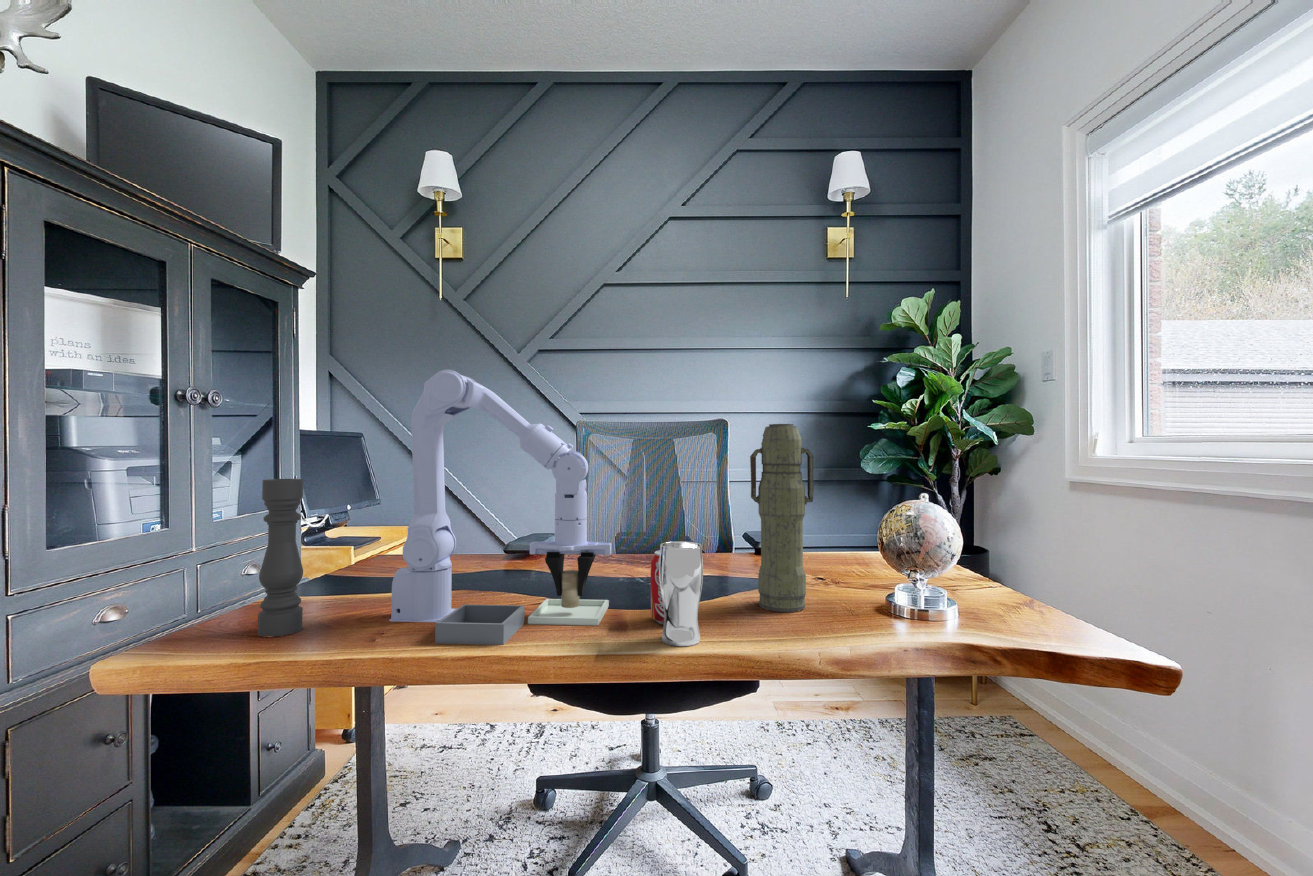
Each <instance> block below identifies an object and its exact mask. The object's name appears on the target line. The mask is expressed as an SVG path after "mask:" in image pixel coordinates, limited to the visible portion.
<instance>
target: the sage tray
mask: <svg viewBox="0 0 1313 876" xmlns="http://www.w3.org/2000/svg"><path fill="white" fill-rule="evenodd" d="M609 603H610V600H609V599H581V598H579V606H578V607H575V608H564V607H562V606H561V598H545V600H544V601H542V603H540V605H539V606H537V608H535V609H534V611H533V612H531V614H530V615H529V616H528V617H527V624H528V625H547V626H548V625H549V626H554V625H555V626H599V625H600V623H601V621H602V619H603V617H604V615H605V614H606V612H607V610H608V608H609V606H610V605H609Z"/></svg>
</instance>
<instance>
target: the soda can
mask: <svg viewBox="0 0 1313 876" xmlns="http://www.w3.org/2000/svg"><path fill="white" fill-rule="evenodd" d="M659 558H660V549H659V550H656V551H654V556H653V558H652V560H651V562H650V613H651V618H652V619H653V620H654V621H656V622H657V623H658V624H659V625H663V626H664V608H663V602H662V596H661V590H660V582H659Z"/></svg>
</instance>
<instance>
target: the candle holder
mask: <svg viewBox="0 0 1313 876" xmlns="http://www.w3.org/2000/svg"><path fill="white" fill-rule="evenodd" d="M261 492H262V494H261V496H262V497H261V500H263V501H264V503H263V504H264V507H266V510H267V511H268V513H267V514H266V515H264V516H263V521H264V522H265V523H266V524H267V526H268V527H267V528H268V531H267V533H268V535H267V547H266V549H265V553H264V558H263V560H262V564H261V567H260V571H259V573H258V580H259V583H260V585H261V586H262V587H263V588H264V589H265V591H264V593H265V594H266V596H264V598H263V600H262V601H261V602H260V605H259V607H260V609H262V610H261V611H259V612H258V614H257V636H258V635H259V636H258V637H260V636H280V637H284V636H283V635H286V636H288V635H287V634H290V635H293V634H292V633H294V632H296V633H299V632H301V631H303V619H304V618H303V614H304V613H303V609H304V608H303V606H301V603H302V598H301V597H300V596H299V595H298V593H297V592H296V590H297V589H298V587H297V586H298V585H299V584H300V582H301V581H302V579H303V576H304V568H303V564H302V560H301V557H300V553H299V549H298V544H297V541H296V540H297V523H298V521H300V520H301V519H302V518H301V517H302V515H301V514H300V513H299V512H297V510H298V508H299V506H300V505H301V503H302V499H303V498H304V479H303V478H269V479H268V478H267V479H262V491H261ZM294 634H295V633H294Z"/></svg>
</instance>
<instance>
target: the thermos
mask: <svg viewBox="0 0 1313 876" xmlns="http://www.w3.org/2000/svg"><path fill="white" fill-rule="evenodd" d="M800 434H801V433H800V431H799V428H798V426H796V425H795V426H794V424H793V423H772V424H768V426H765V428H764V431H763V433H762V439H761V440H762V441H761V443H760V444H761V447H760V448H758V449H755V450H754V451H753V452H752V453H751V455H750V456H749V459H750V460H749V462H750V464H749V465H750V498H751V499H752V500H753V501H754V502H755V503H756V504H758V515H759V517H760V567H759V570H758V576H757V577H758V578H757V580H758V583H757V585H758V586H757V587H758V594H759V601H758V602H759V607H760V608H762V609H764V610H766V609H767V610H766V611H771V612H777V613H796V612H795V611H798V612H800V611H799V610H802V609H804V608H805V609H806V602H805V601H806V599H805V596H806V595H807V589H806V588H807V577H806V572H805V570H804V559H803V558H804V554H803V553H804V551H803V550H804V542H803V541H804V534H803V533H804V525H803V524H804V523H803V522H804V521H803V520H804V517H805V515H806V505H808V503H813V501H814V454H813V453H812V452H811V451H810V449H809V448H805V447H802V437H801V435H800ZM758 454H761V465H762V472H761V478H760V481H759V485H758V491H757V456H758ZM803 454H804V455H805V454H806V456H807V496H806V487H805V484H804V480H803V476H802V472H801V469H802V468H801V467H802V466H801V465H802V463H803V462H802V457H803V456H802V455H803ZM757 492H758V495H757ZM805 609H804V610H805ZM802 611H803V610H802Z"/></svg>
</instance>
